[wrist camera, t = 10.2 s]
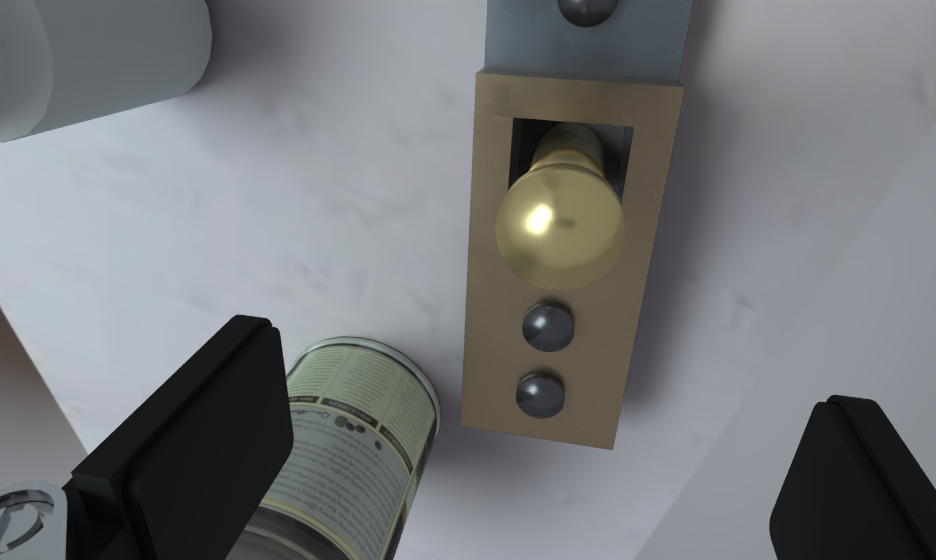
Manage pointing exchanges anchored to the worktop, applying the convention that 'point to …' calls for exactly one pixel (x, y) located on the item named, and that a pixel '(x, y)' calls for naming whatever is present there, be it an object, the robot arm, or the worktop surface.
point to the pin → (562, 214)
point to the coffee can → (346, 456)
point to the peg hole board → (638, 188)
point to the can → (95, 58)
